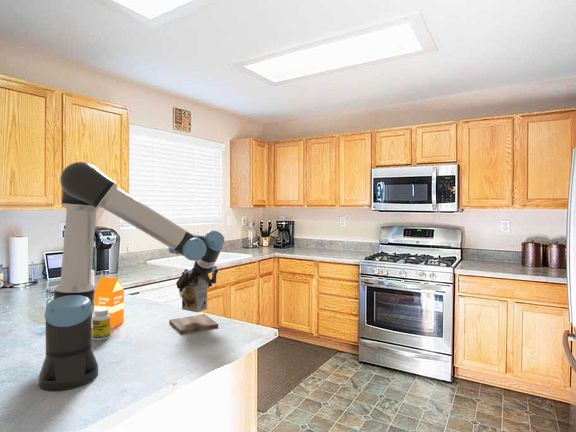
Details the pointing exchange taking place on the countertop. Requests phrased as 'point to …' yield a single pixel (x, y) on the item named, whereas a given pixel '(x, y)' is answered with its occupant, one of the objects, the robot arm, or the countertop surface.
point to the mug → (92, 277)
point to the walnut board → (193, 323)
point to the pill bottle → (101, 324)
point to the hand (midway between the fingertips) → (192, 293)
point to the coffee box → (195, 295)
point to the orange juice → (110, 299)
